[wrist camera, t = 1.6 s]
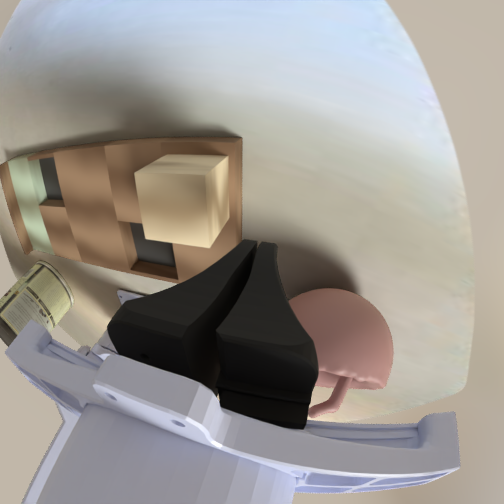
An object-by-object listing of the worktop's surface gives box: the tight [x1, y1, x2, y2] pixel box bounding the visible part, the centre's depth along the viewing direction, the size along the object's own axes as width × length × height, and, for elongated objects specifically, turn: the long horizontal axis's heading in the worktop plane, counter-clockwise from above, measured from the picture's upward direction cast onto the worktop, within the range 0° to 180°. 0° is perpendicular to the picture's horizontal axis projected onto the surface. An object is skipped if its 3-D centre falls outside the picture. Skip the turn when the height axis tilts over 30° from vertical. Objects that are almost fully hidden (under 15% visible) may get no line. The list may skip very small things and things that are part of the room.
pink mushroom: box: [288, 288, 394, 418], centre depth 23 cm, size 12×12×11 cm
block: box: [134, 154, 229, 248], centre depth 19 cm, size 5×5×4 cm
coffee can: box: [0, 261, 74, 347], centre depth 33 cm, size 10×10×14 cm
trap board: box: [0, 137, 242, 284], centre depth 25 cm, size 14×33×4 cm, turn 89°
